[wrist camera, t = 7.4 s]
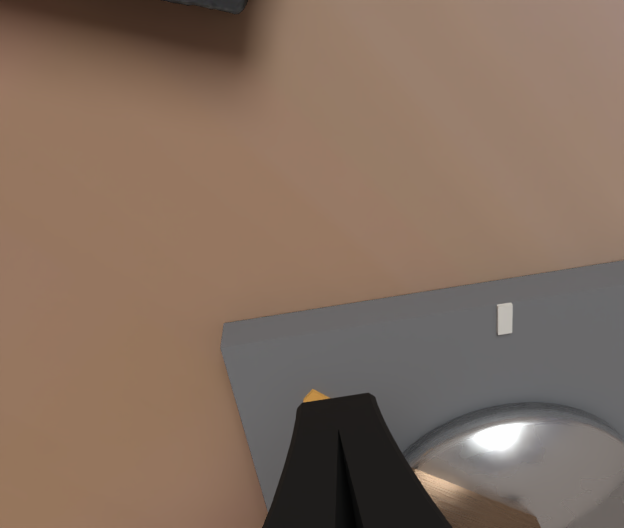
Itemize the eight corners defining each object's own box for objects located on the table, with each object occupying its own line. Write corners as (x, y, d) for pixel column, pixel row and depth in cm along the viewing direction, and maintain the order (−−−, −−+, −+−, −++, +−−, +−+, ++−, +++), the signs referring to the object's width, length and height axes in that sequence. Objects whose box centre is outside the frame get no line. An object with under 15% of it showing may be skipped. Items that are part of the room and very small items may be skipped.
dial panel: (764, 238, 21) (799, 260, 20) (680, 571, 31) (700, 602, 30) (223, 323, 22) (219, 350, 20) (307, 624, 32) (309, 657, 30)
